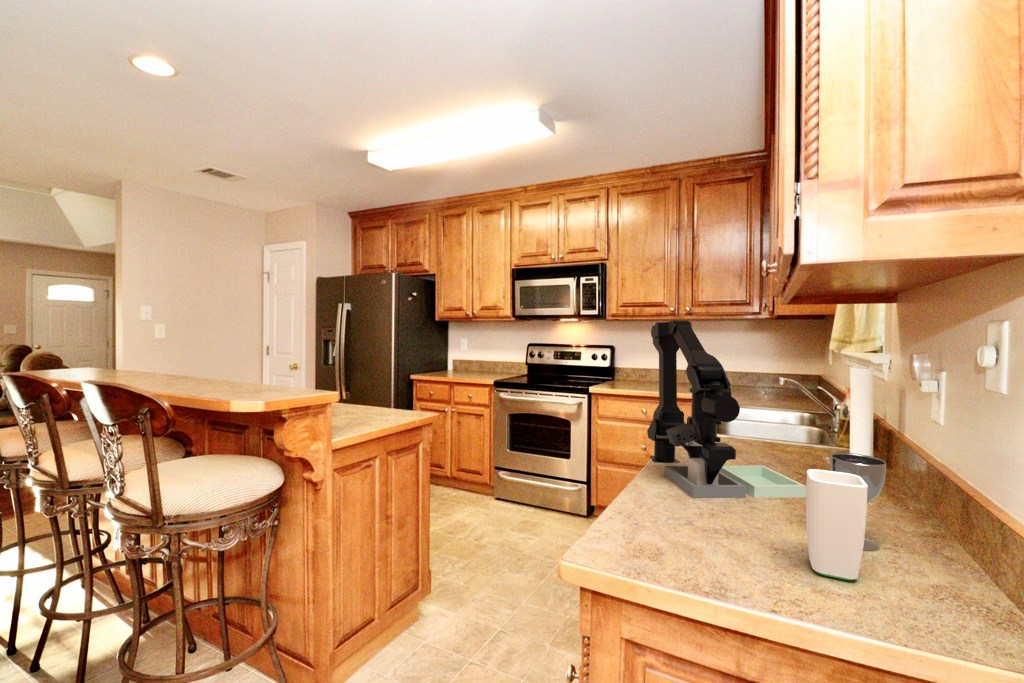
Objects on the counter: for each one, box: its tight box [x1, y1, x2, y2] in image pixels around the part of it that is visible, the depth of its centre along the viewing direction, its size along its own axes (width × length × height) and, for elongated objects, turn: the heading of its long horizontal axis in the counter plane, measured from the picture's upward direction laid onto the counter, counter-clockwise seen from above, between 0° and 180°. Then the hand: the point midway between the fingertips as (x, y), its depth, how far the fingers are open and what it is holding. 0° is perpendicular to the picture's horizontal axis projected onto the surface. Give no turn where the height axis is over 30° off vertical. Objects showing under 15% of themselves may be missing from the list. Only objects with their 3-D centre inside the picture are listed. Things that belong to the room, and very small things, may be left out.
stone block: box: [687, 457, 718, 485], centre depth 113 cm, size 5×5×6 cm
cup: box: [805, 468, 868, 581], centre depth 74 cm, size 7×7×15 cm
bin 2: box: [720, 464, 806, 499], centre depth 114 cm, size 16×12×3 cm
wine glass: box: [830, 452, 887, 552], centre depth 85 cm, size 8×8×15 cm
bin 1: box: [664, 465, 747, 499], centre depth 113 cm, size 16×12×3 cm
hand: (702, 479), depth 113 cm, fingers open, 6 cm apart
